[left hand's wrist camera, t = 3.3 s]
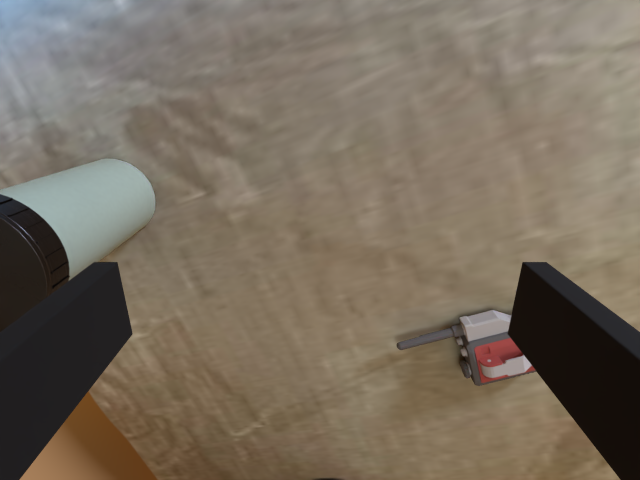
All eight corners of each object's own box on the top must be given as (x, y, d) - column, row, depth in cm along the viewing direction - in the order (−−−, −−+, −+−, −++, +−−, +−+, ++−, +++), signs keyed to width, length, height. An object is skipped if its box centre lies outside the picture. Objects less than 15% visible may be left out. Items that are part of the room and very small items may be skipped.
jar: (101, 141, 38) (-64, 178, 22) (170, 192, 40) (66, 262, 24) (63, 201, 40) (-112, 275, 24) (130, 247, 42) (10, 345, 26)
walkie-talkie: (561, 287, 44) (392, 332, 46) (586, 307, 40) (399, 356, 42) (568, 347, 47) (409, 387, 49) (591, 372, 43) (417, 414, 45)
